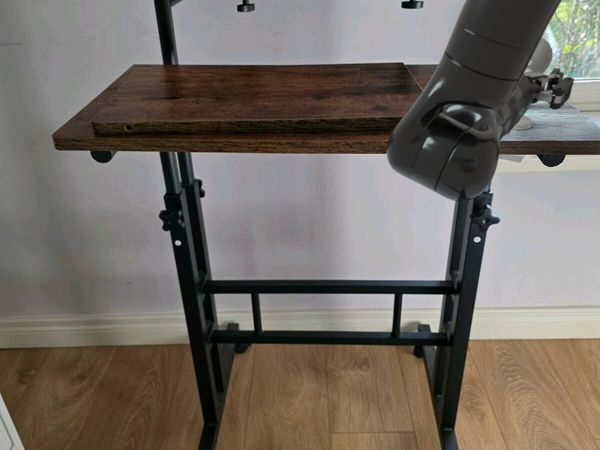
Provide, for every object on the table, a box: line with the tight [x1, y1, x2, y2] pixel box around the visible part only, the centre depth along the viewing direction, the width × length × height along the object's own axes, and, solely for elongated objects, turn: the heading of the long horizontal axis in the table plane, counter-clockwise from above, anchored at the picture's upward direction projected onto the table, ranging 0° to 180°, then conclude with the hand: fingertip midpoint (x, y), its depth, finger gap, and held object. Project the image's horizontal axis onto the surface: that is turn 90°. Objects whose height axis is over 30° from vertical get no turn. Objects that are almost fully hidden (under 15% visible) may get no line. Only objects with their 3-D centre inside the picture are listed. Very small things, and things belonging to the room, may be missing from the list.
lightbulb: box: [527, 37, 554, 82], centre depth 83 cm, size 6×6×11 cm
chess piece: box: [512, 61, 533, 131], centre depth 77 cm, size 5×5×10 cm
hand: (523, 71), depth 75 cm, fingers open, 8 cm apart
